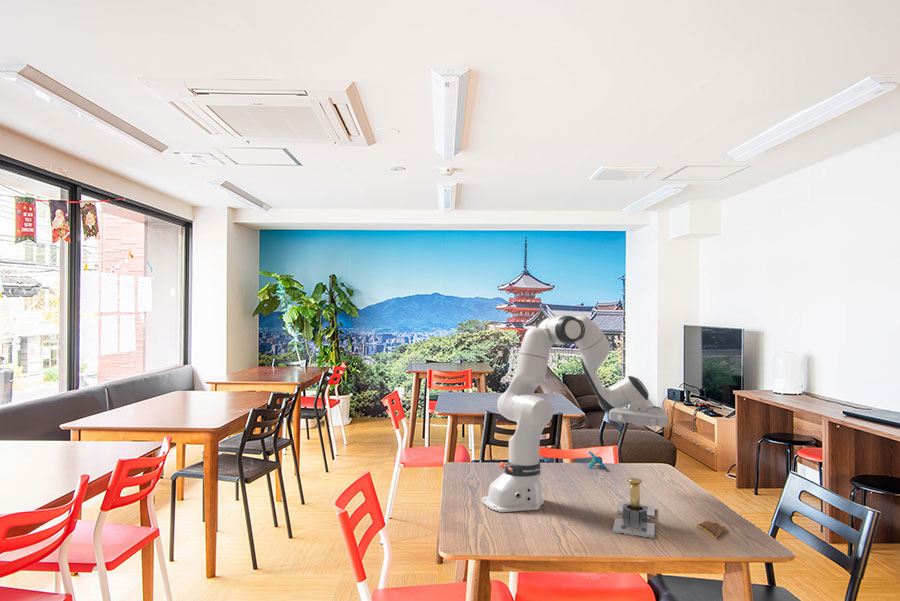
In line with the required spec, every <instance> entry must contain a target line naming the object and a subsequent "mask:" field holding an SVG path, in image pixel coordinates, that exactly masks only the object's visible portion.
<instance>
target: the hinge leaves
mask: <svg viewBox="0 0 900 601" xmlns="http://www.w3.org/2000/svg"><path fill="white" fill-rule="evenodd" d="M655 509H656V507H655V505H648V504H642V503H640V510H639V511H637V510H631V509H630V502H626V501H618V503H617V508H616V514H617V515H622V518H620V517H619V518H618V517H615V518H614V522H613V525H612V526H613V527H612V533H615V534H620V533H624V534H623V535H626V534H631V535H630V536H633V535H639V536H645V537H644V538H646V537H650V538H649V539H652V538H655V537H656V536H655V534H656V533H655V530H656V528H655V527H656V526H655V525H656V524H655V523H653V522H648V519H651V518H656V517H655V514H656V513H655V512H656V510H655ZM647 517H649V518H647ZM639 536H638V537H639Z"/></svg>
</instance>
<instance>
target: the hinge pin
mask: <svg viewBox="0 0 900 601" xmlns="http://www.w3.org/2000/svg"><path fill="white" fill-rule="evenodd" d="M627 482H628V483H629V503H630V509H631V510H637V511H639V510H640V504H641V502H640V501H641V499H640V498H641V497H640V495H641V494H640V492H641V491H640V490H641V488H640V486H641V485H640V484H642V482H643V480H642V479H641V478H638V477H627Z"/></svg>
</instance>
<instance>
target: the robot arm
mask: <svg viewBox="0 0 900 601" xmlns="http://www.w3.org/2000/svg"><path fill="white" fill-rule="evenodd" d="M572 344H575V345H576V346H577V349H579V350H580V352H581V355H582V358H581V361H580V364H581V367H582V371H583V373H584V374H585V377H586V379H587V380H588V383H589V384H590V386H591V388H592V390H593V392H594V394H595V396H596V399H597V400H598V401H597V402H598V404H599V406H600V407H601V410H603V411H604V412H606V413H608V419H609V421H612V422H620V423H628V424H633V426H636V427H647V426H648V427H649V426H650V427H662V428H668V424H669V423H668V422H669V415H668V414H667V412H666V411H665V408H664V407H660V406H655V405H654V403H653V402H652V401H651V399H650V398H649V395H650V394H649V391H648V389H647V388H646V386H645V385H644V383H643V382H642V381H641V380H640V379H639V378H638V377H635V376H631V375H628V376H625V378H622V379H620V380H619V381H617V382H616V383H614V384H612V385H610V386H608V387H604V385H603V383H602V381H601V379H600V377H599V375H598V373H597V372H598V370H599V368H600V366H601V365H602V364H603V363H604V362H605V361H606V359H607V357H608V355H609V353H610V350H611V345H610V341H609V339H608V338H607V336H606V335H605V333H604V332H603V330H601V328H600V327H599V326H598V325H597V324H596V323H595V322H594V321H593V320H591V319H590V317H588V316H586V315H577V316H572V315H552V316H546V317H544V318H542V319H540V321H539V322H538V323H537V324H536V326H535V327H532V328H528V329H527V330H526V332H525V333H524V335H523V338H522V341H521V344H520V348H519V353H518V358H517V364H516V366H515V371H514V375H513V377H512V379H511V381H510V384H509V386H508V387H507V388H506V390H505V391H504V392H503V393H502V394H500V395H499V397H498V399H497V402H496V404H497V405H496V406H497V407H496V408H497V411H498V413H499V414H500V415H501V416H503V417H504V418H505V419H507V420H508V421H513V422H516V428H515V432H514V434H513V435H512V436H511V437H510V438H509V439H508V460H507V462H506V463H505V462H503V461H500V462H499V465H498V466H499V468H501V469H504V472H503V473H501V474H500V475H499V476H498V477H497V478H496V479H495V480H494V481H492V482H491V483H490V485H489V487H488V494H487V496H482V498H481V503H482V502H483V503H484V504H485V505H486V506H487V507H486V506H485V505H484V504H483V503H482V504H483V505H484V506H485V507H486V508H488V507H489V508H488V509H490V510H491V509H492V511H494V510H495V511H494V512H497V511H498V512H497V513H509V512H522V511H537V510H540V509H541V506H542V505H544V503H545V500H544V497H543V493H542V492H543V491H542V488H541V478H540V477H541V462H540V445H541V444H540V442H541V438H542V434H543V431H544V429H545V427H547V425H549V424H550V422H551V421H552V418H553V415H554V408H553V407H552V404H551V402H549V401H548V400H546V399H545V398H543V397H541V396H538V395H535V391H536V389H538V387H539V385H541V384H542V383H544V382H545V380H546V375H547V370H548V363H549V360H550V359H549V358H550V353H551V349H552V347H553V346H554V345H559V346H560V345H561V346H562V345H572ZM627 406H628V408H626V407H627Z"/></svg>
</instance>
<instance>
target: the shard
mask: <svg viewBox="0 0 900 601" xmlns="http://www.w3.org/2000/svg"><path fill="white" fill-rule="evenodd" d="M696 525H697V528H699V529H700V530H702V531H704V532H705V533H706V534H707V533H708V534H707V535H708V536H710V535H711V536H713V537H714V538H713V537H712V538H713V539H715V538H716V539H715V540H718V538H719V537H718V536H720V535H721V534H722V533H723V532H725V531H726V529H727V526H725V525H723V524H720V523H717V522H713V521H710V520H705V519H704V520H703V521H702V522H700V523H697V524H696ZM724 530H725V531H724ZM711 536H710V537H711Z"/></svg>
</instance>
